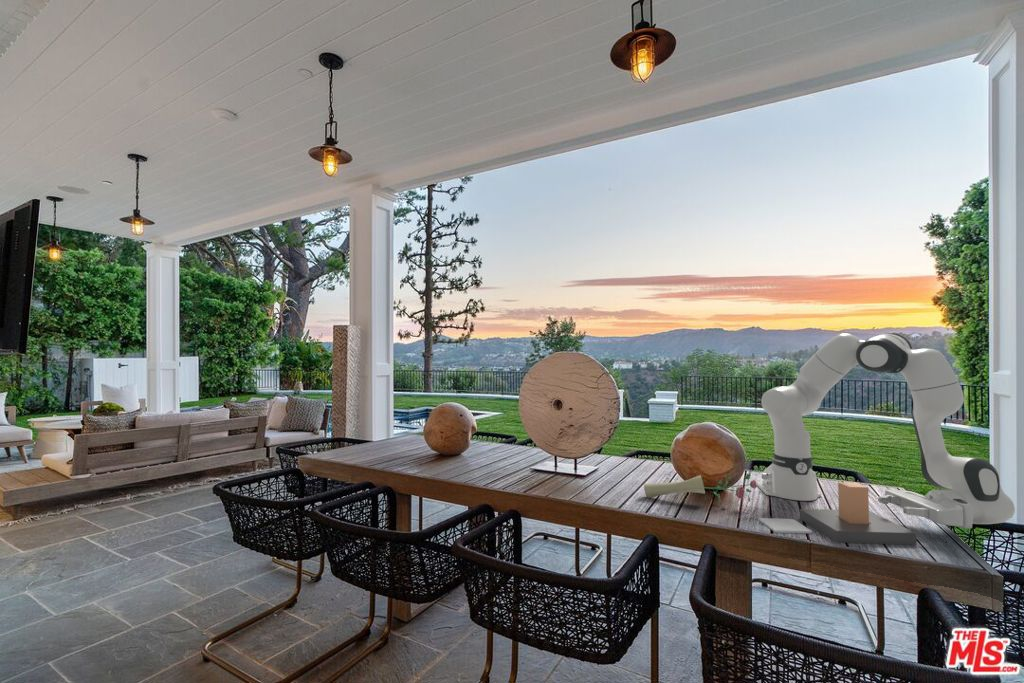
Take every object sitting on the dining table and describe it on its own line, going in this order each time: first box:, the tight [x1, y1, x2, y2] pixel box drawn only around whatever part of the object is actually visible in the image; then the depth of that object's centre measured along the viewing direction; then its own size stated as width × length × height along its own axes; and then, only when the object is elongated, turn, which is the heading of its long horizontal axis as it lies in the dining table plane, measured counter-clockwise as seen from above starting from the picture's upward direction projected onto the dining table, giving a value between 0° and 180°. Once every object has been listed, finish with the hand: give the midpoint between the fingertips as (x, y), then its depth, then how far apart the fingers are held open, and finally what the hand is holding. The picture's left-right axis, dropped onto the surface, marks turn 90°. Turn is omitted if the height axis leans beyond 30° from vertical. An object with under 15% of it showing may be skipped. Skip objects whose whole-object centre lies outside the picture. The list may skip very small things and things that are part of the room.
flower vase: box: [643, 471, 758, 510], centre depth 155 cm, size 12×12×35 cm
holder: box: [799, 508, 917, 545], centre depth 131 cm, size 18×20×3 cm
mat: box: [758, 517, 813, 534], centre depth 135 cm, size 10×10×1 cm
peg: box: [837, 481, 870, 524], centre depth 132 cm, size 5×5×13 cm
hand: (892, 505), depth 131 cm, fingers open, 8 cm apart
